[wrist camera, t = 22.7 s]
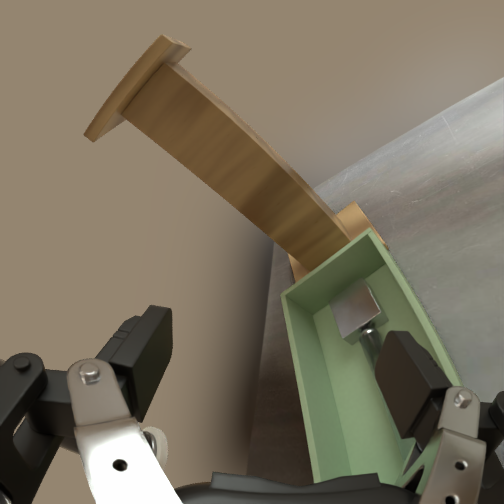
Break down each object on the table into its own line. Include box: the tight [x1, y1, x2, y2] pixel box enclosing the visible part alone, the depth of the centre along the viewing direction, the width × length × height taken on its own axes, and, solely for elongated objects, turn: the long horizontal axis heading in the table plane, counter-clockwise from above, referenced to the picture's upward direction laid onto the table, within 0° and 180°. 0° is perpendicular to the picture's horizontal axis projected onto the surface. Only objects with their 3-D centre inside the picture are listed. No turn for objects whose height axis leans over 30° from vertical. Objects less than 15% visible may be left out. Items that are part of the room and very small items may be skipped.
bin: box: [280, 227, 464, 485], centre depth 22 cm, size 22×12×6 cm, turn 6°
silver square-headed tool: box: [328, 277, 416, 464], centre depth 22 cm, size 19×4×2 cm, turn 8°
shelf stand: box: [84, 34, 389, 282], centre depth 29 cm, size 12×12×30 cm
